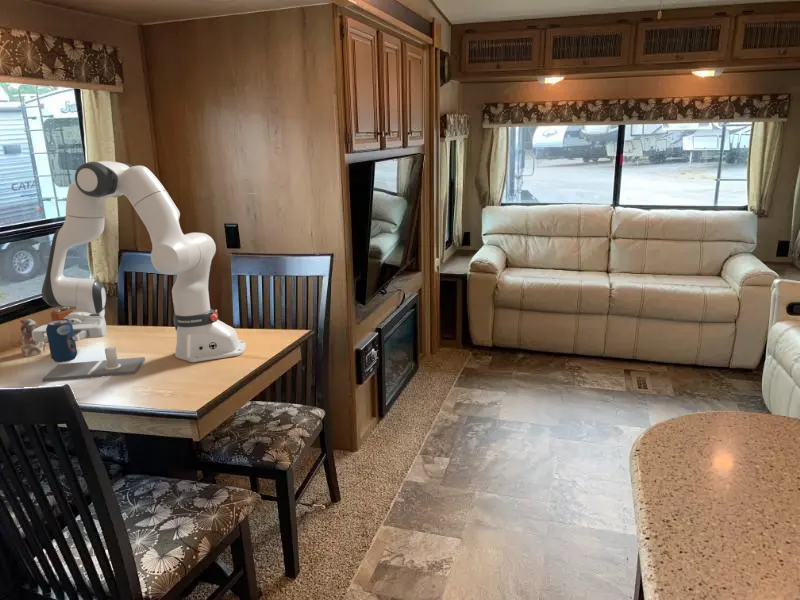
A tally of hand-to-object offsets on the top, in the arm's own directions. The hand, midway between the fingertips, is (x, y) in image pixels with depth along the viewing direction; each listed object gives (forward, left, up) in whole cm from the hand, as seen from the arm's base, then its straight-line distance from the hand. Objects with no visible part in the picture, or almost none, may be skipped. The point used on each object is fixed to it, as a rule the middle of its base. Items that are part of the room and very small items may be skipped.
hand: (60, 339), depth 176 cm
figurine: (+19, -25, -12) cm, 33 cm away
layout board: (-8, -2, -11) cm, 14 cm away
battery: (+16, -45, -12) cm, 49 cm away
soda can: (0, -1, -7) cm, 7 cm away
